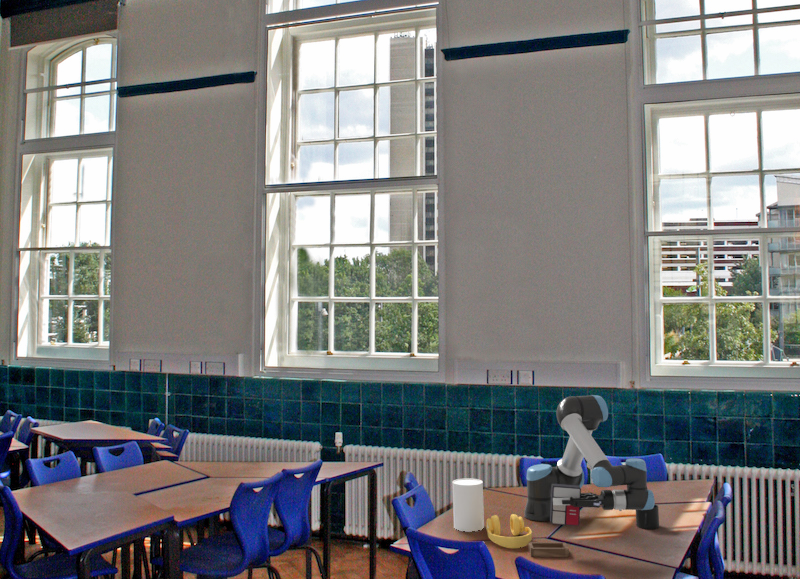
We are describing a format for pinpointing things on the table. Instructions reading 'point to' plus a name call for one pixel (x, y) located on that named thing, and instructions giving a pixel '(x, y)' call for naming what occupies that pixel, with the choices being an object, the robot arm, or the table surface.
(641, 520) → the mug
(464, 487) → the canister
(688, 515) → the table surface
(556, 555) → the slot stand
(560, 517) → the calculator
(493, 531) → the headset
